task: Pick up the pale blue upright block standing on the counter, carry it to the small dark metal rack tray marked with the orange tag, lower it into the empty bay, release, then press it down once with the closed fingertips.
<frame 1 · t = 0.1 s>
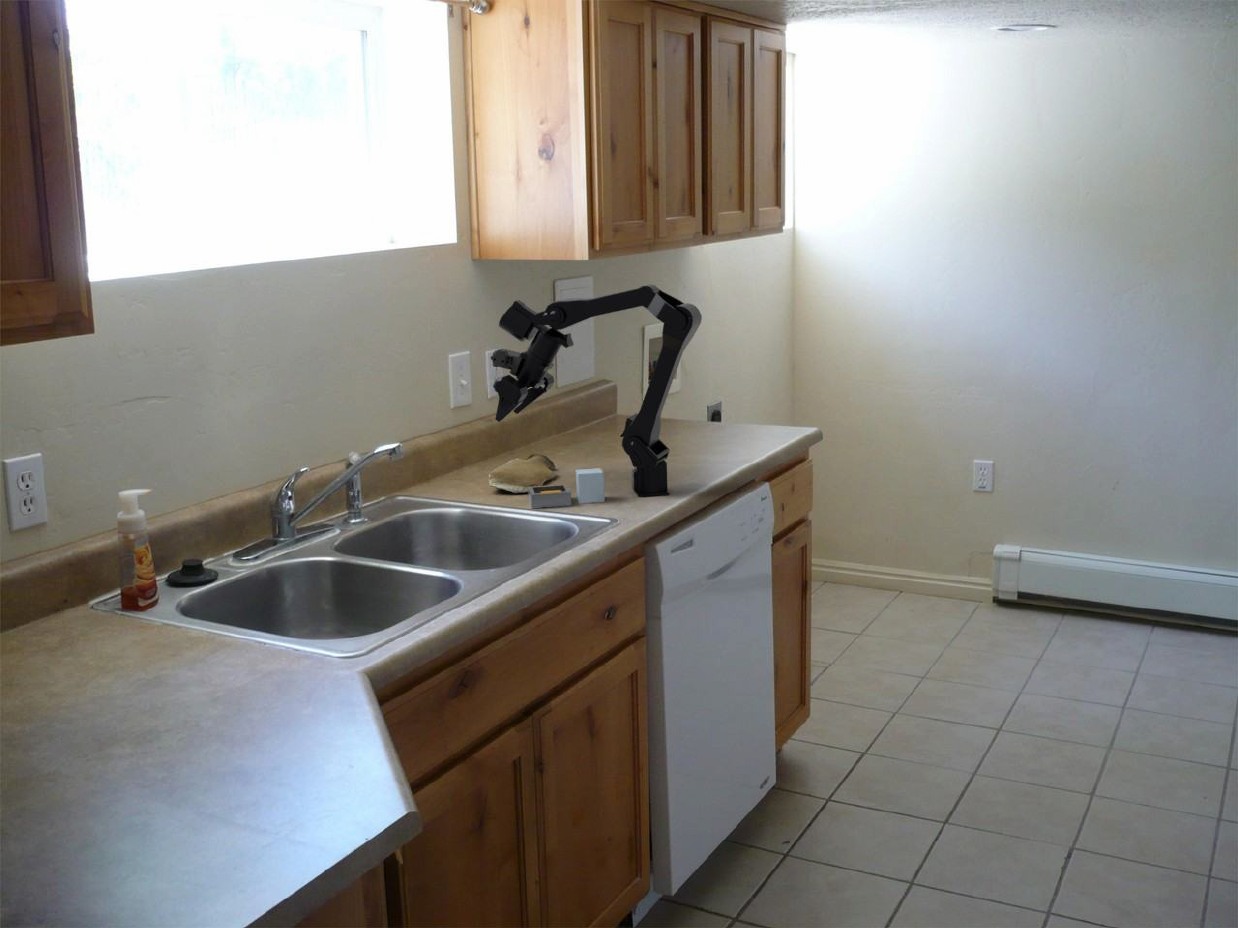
hand: (506, 416, 254), 15 cm above the countertop, tool tilted 30°, fingers open, 9 cm apart
pale blue upright block: (590, 500, 243), on the countertop
rack: (549, 503, 242), on the countertop
stone tool: (526, 483, 261), on the countertop
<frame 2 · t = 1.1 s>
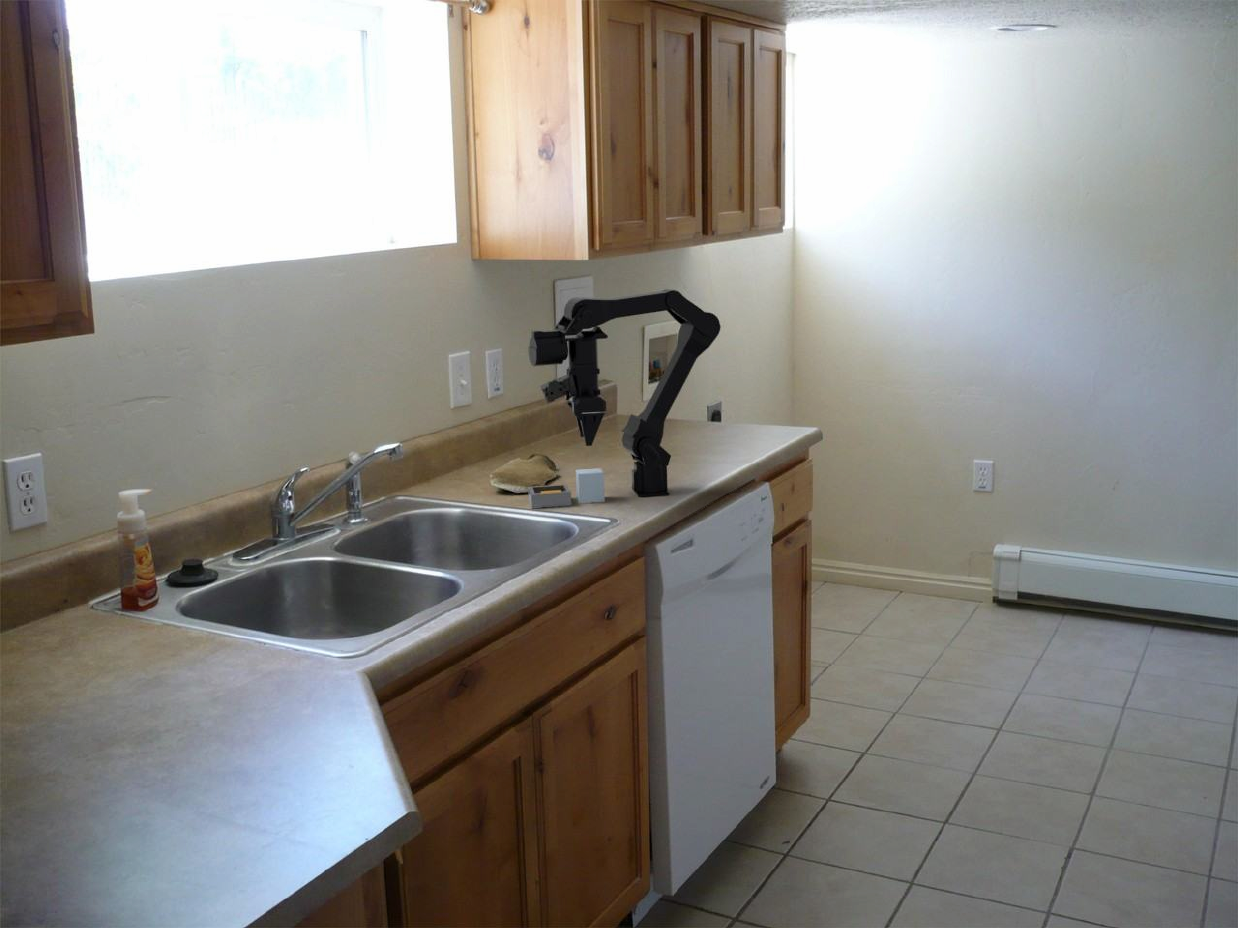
hand: (586, 441, 241), 12 cm above the countertop, tool pointing down, fingers open, 9 cm apart
nothing on the countertop moved.
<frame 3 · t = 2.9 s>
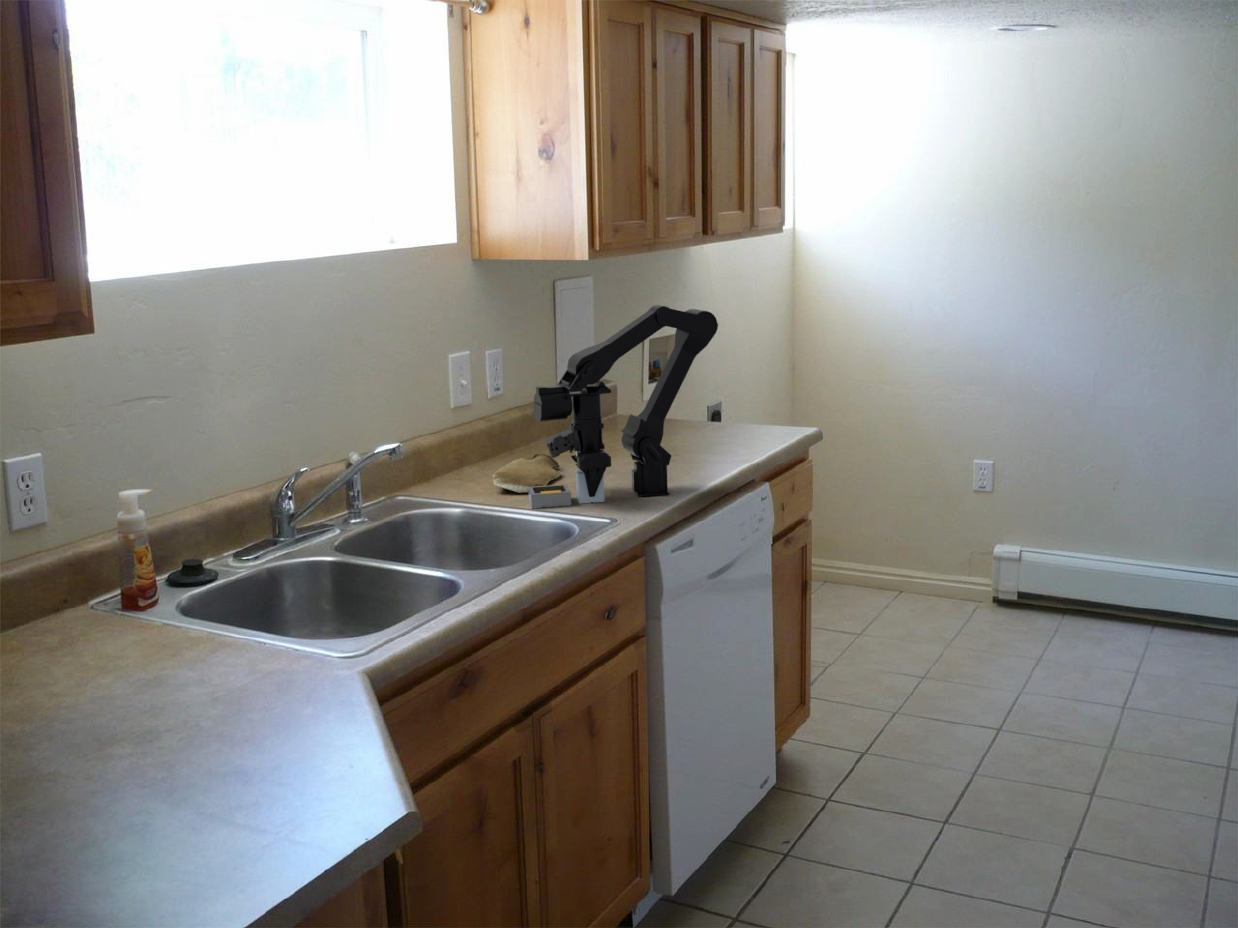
hand: (590, 494, 243), 1 cm above the countertop, tool pointing down, fingers closed on pale blue upright block, 4 cm apart
pale blue upright block: (590, 500, 243), on the countertop, touching gripper
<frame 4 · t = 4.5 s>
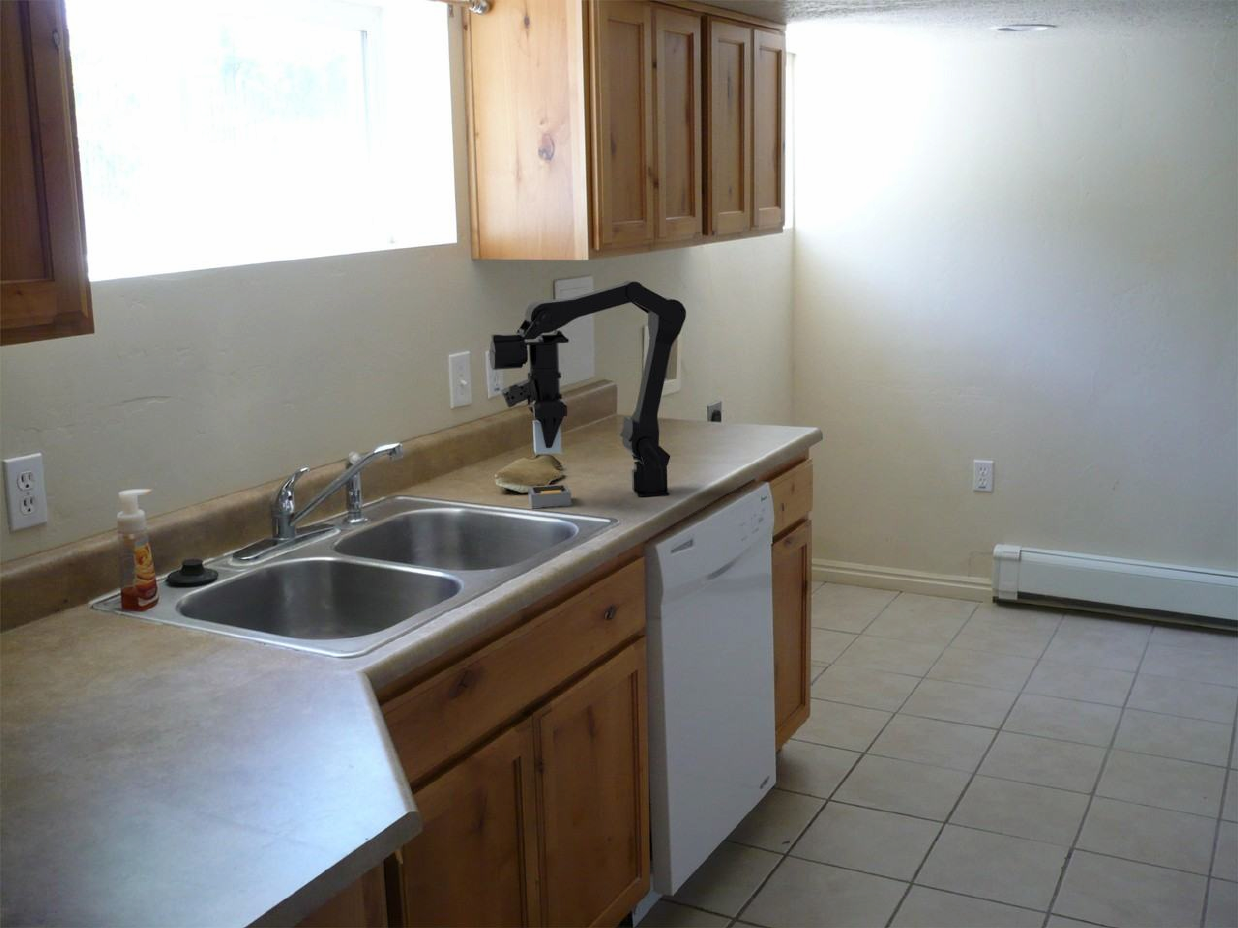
hand: (547, 445, 239), 12 cm above the countertop, tool pointing down, fingers closed on pale blue upright block, 4 cm apart
pale blue upright block: (547, 451, 240), point 10 cm above the countertop, touching gripper
when the fingers open (3 cm above the countertop, at t = 6.3 s): pale blue upright block drops 1 cm, resting on rack.
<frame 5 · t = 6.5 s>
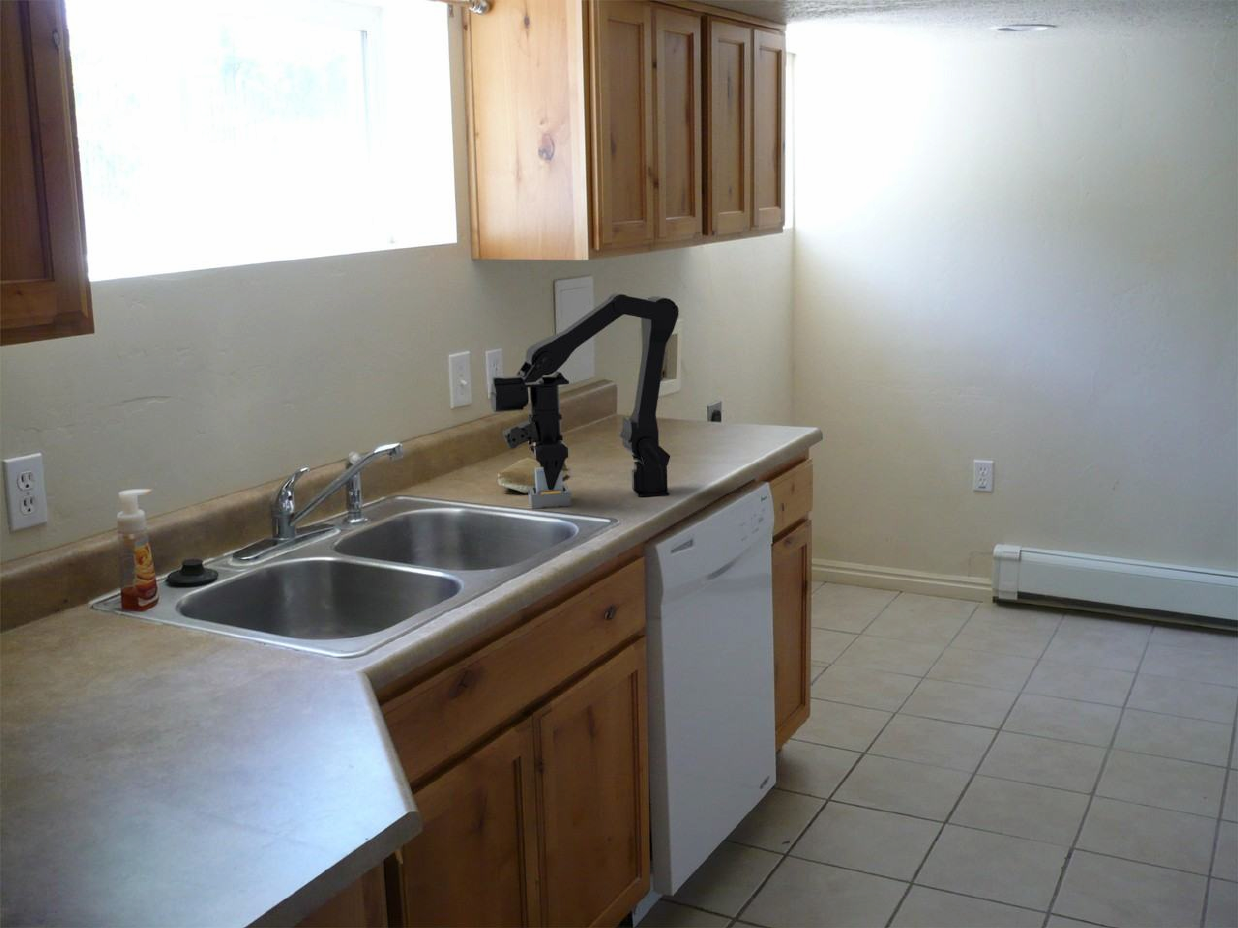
hand: (549, 485, 241), 3 cm above the countertop, tool pointing down, fingers open, 6 cm apart
pale blue upright block: (549, 498, 242), point 1 cm above the countertop, touching rack
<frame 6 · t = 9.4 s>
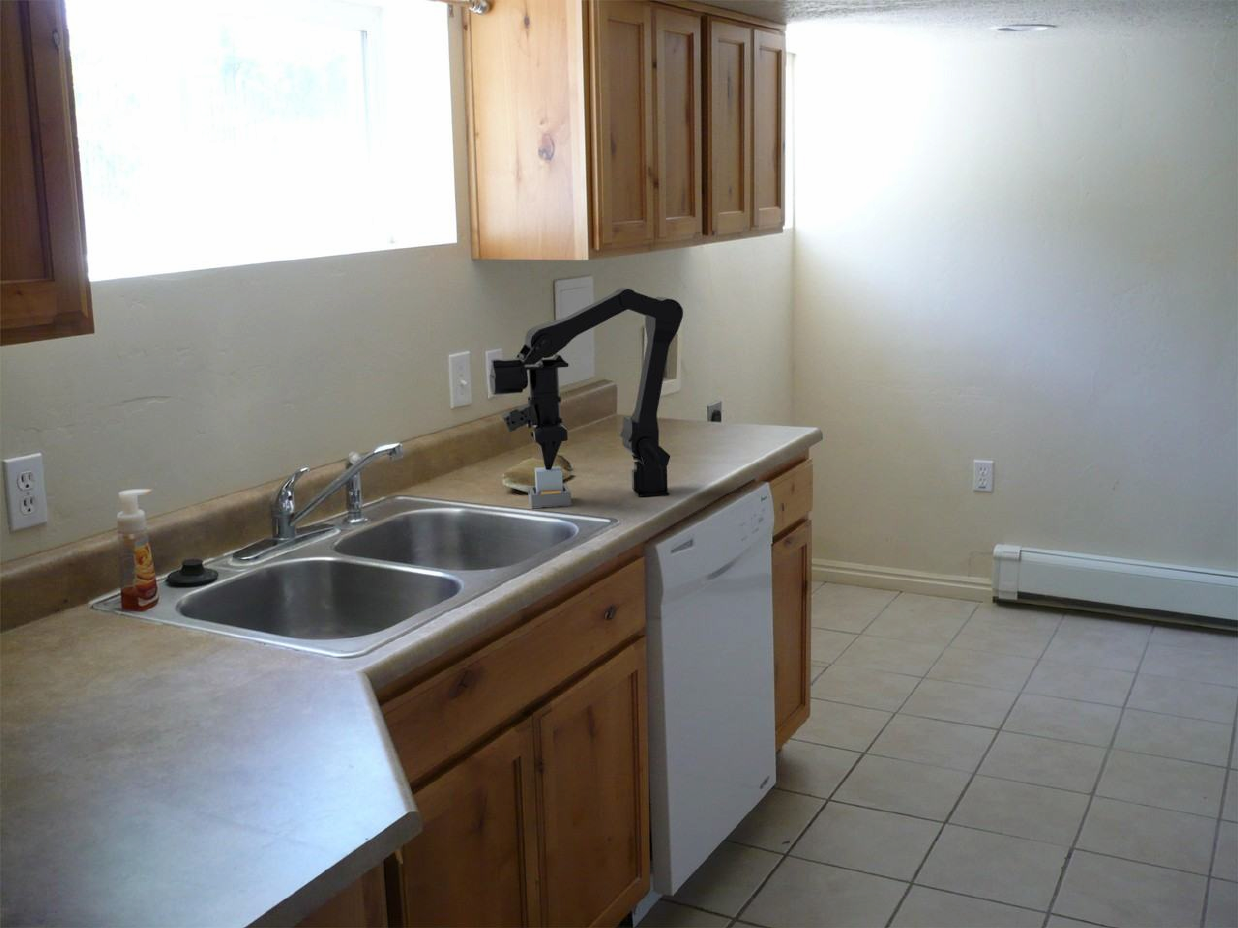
hand: (548, 469, 240), 7 cm above the countertop, tool pointing down, fingers closed, pressing on pale blue upright block
pale blue upright block: (549, 498, 242), point 1 cm above the countertop, touching gripper, rack
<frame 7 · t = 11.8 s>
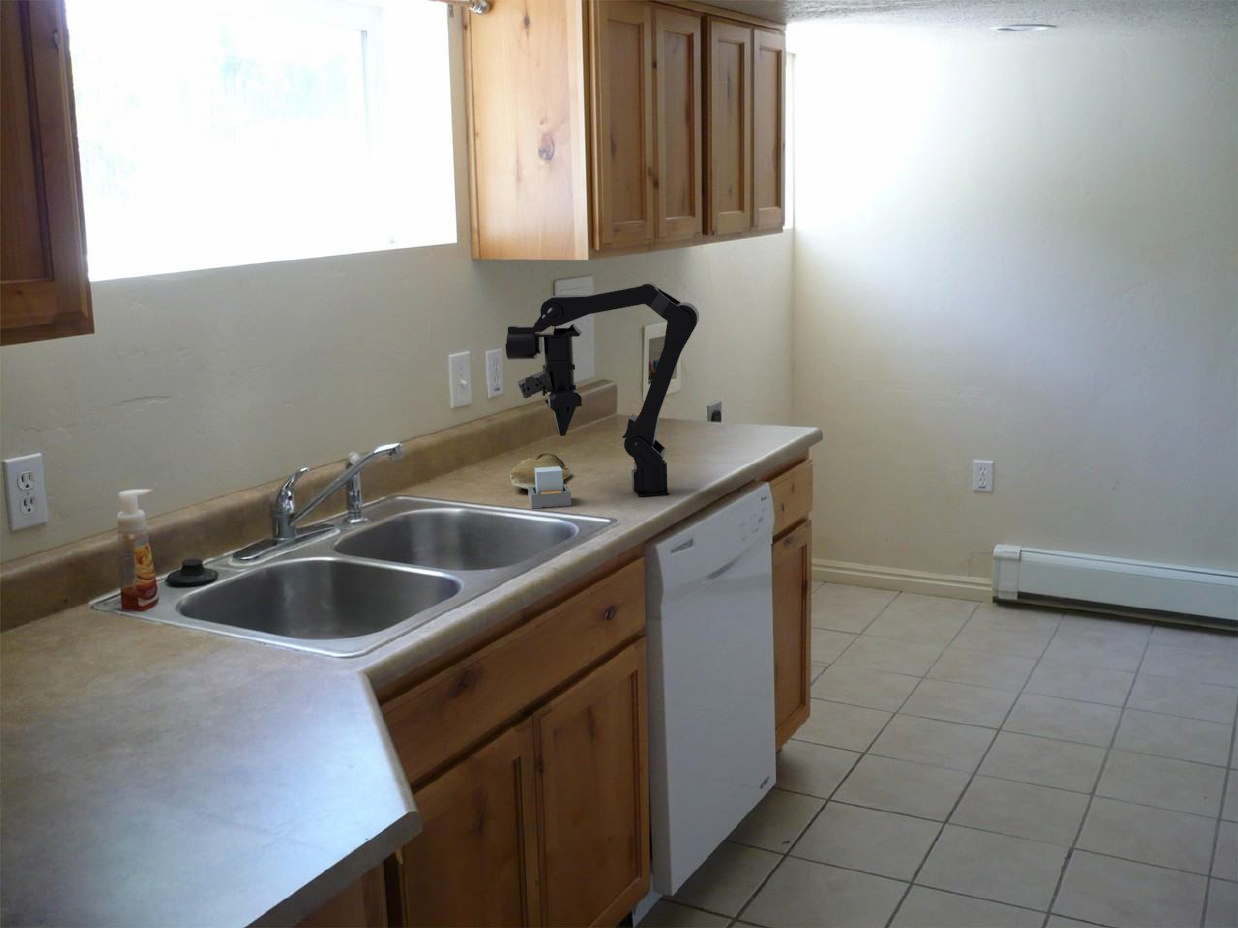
hand: (562, 435, 247), 12 cm above the countertop, tool pointing down, fingers closed
pale blue upright block: (549, 498, 242), point 1 cm above the countertop, touching rack
at the end: pale blue upright block 0.0 cm off-centre on the rack, point 0.9 cm above the rack's base; pale blue upright block tilted 0°; the gripper is holding nothing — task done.
